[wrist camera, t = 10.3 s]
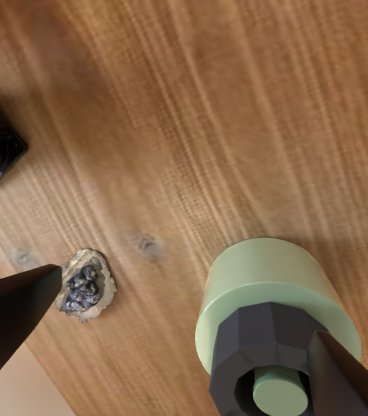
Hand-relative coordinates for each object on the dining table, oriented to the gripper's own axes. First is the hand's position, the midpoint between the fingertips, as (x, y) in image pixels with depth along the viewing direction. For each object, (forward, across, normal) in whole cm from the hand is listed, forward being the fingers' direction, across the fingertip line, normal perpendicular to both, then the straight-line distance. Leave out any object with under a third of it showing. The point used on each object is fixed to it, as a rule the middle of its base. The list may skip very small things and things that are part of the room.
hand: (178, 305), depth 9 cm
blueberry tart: (+12, +11, +10) cm, 19 cm away
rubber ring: (+6, -6, +6) cm, 10 cm away
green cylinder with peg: (+12, -6, +6) cm, 14 cm away
